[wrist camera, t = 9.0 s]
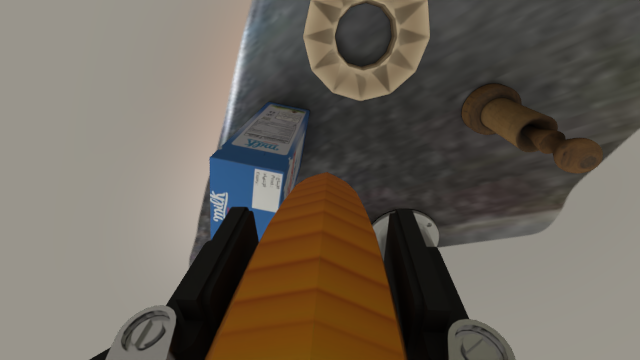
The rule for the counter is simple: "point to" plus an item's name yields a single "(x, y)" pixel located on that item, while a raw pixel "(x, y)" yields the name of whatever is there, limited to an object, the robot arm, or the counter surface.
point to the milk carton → (258, 165)
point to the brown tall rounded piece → (527, 128)
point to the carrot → (313, 285)
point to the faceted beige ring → (375, 79)
